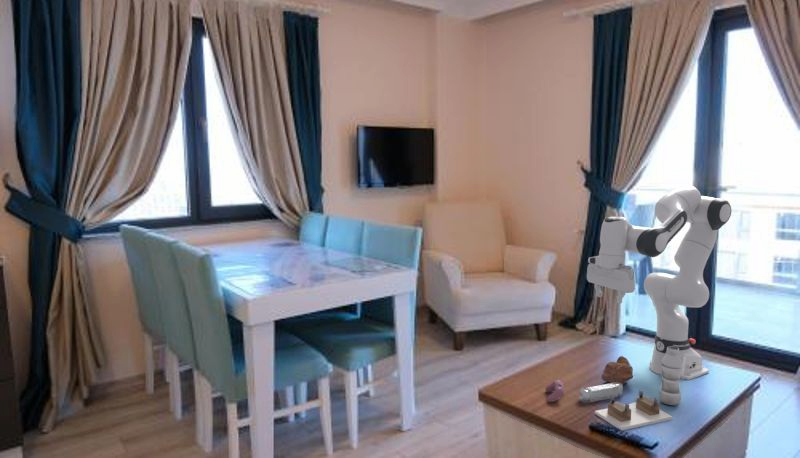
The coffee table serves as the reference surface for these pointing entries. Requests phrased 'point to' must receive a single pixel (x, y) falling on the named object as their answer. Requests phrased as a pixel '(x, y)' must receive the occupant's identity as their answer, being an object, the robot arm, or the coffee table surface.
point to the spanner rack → (633, 413)
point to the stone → (618, 371)
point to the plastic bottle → (671, 377)
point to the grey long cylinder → (600, 392)
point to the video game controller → (555, 390)
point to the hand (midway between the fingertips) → (608, 299)
